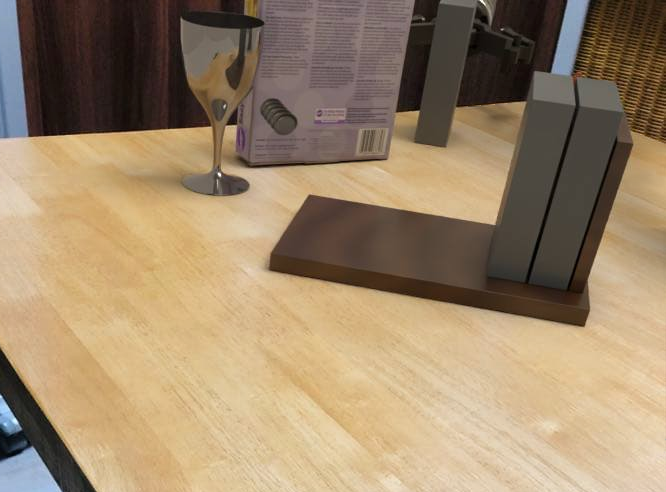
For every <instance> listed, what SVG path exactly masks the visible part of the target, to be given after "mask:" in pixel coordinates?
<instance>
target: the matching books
mask: <svg viewBox="0 0 666 492" xmlns="http://www.w3.org/2000/svg"><path fill="white" fill-rule="evenodd" d="M572 76H573V75H567V74H566V75H565V74H558V73H554V72H553V73H551V72H546V71H545V72H544V71H539V70H534V71H533V74H532V78H531V81H530V86H529V89H528V93H527V96H526V97H527V98H526V101H525V105H524V109H523V113H522V117H521V121H520V124H519V125H520V126H519V130H518V133H517V137H516V140H515V145H514V149H513V153H512V156H511V161H510V165H509V168H508V172H507V177H506V180H505V184H504V188H503V192H502V196H501V200H500V204H499V207H498V211H497V216H496V220H495V223H494V225H495V227H494V231H493V235H492V243H491V250H490V258H489V265H488V273H487V276H488V277H493V278H499V279H505V280H510V281H516V282H522V283H524V282H525V280H526V276H527V273H528V269H529V279H528V284H533V285H539V286H544V287H550V288H556V289H562V290H567V287H568V284H569V281H570V277H571V274H572V271H573V268H574V265H575V262H576V259H577V256H578V253H579V250H580V247H581V243H582V240H583V237H584V234H585V231H586V228H587V225H588V222H589V219H590V216H591V213H592V209H593V206H594V203H595V200H596V197H597V194H598V191H599V188H600V185H601V182H602V179H603V175H604V172H605V169H606V166H607V163H608V160H609V157H610V154H611V151H612V148H613V145H614V141H615V138H616V135H617V132H618V129H619V126H620V123H621V120H622V117H623V114H624V111H625V110H624V108H623V104H622V103H623V102H622V100H621V96H620V92H619V89H618V85H617V82H616V81H609V80H602V79H595V78H590V77H589V78H588V77H583V76H582V77H577V78H576V81H575V85H573V77H572Z"/></svg>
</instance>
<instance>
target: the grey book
mask: <svg viewBox="0 0 666 492" xmlns="http://www.w3.org/2000/svg"><path fill="white" fill-rule="evenodd" d="M477 2H478V0H440V1H439V3H438V6H437V13H436V17H435V18H436V23H435V29H434V34H433V40H432V46H430V52H429V57H428V63H427V69H426V73H425V80H424V85H423V89H422V94H421V95H422V96H421V100H420V106H419V108H420V109H419V113H418V118H417V124H416V128H415V134H414V141H413V142H414V143H415V144H423V145H430V146H436V147H443V148H446V147H447V145H448V142H449V138H450V135H451V132H452V128H453V123H454V120H455V113H456V109H457V104H458V101H459V100H458V99H459V94H460V89H461V85H462V80H463V75H464V69H465V64H466V61H467V58H466V56H467V51H468V46H469V41H470V37H471V32H472V27H473V22H474V17H475V12H476V7H477Z"/></svg>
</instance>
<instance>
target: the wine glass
mask: <svg viewBox="0 0 666 492" xmlns="http://www.w3.org/2000/svg"><path fill="white" fill-rule="evenodd" d="M179 26H180V28H179V29H180V30H179V31H180V32H179V34H180V35H179V37H180V38H179V39H180V53H181V63H182V66H183V67H182V69H183V74H184V76H185V80H186V84H187V86H188V87H189V89H190V91H191V93H192V94H193V96H194V97H195V98H196V100H197V101H198V103H199V104H200V106H201V107H202V108H203V109H204V111H205V113H206V115H207V117H208V119H209V122H210V125H211V130H212V131H211V132H212V133H211V134H212V144H213V157H212V158H213V162H212V168H211V170H210V171H207V170H205V171H196V172H192V173H189V174H187V175H185V176H184V177H183V178H182V181H181V183H182V185H183V186H184V187H185V188H186V189H188V190H191V191H193V192H196V193H199V194H204V195H210V196H234V195H239V194H242V193H245V192H247V191H248V190H249V189H250V188H251V185H250V182H249V181H248V179H246V178H244V177H242V176H239V175H237V174H234V173H229V172H224V171H223V170H222V163H221V162H222V148H223V141H224V136H225V130H226V126H227V125H228V122H229V120H230V118H231V117H232V115H233V113H234V112H235V111H236V110H237V109H238V106H239V105H240V104H241V103H242V102H243V101H244V99H245V98H246V97H247V96H248V95H249V93H250V92H251V91H252V89H253V87H254V85H255V82H256V79H257V76H258V72H259V68H260V63H261V58H262V52H263V43H264V28H265V23H264V21H262V20H260V19H258V18H255V17H252V16H248V15H244V13H237V12H229V11H214V10H197V11H196V10H195V11H189V12H185V13H183V14H181V15H180V25H179Z"/></svg>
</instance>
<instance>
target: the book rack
mask: <svg viewBox="0 0 666 492" xmlns="http://www.w3.org/2000/svg"><path fill="white" fill-rule="evenodd" d="M623 111H624V114H623V117H622V120H621V123H620V126H619V129H618V132H617V135H616V138H615V141H614V145H613V148H612V151H611V154H610V157H609V160H608V163H607V166H606V169H605V172H604V175H603V179H602V182H601V185H600V188H599V191H598V194H597V197H596V200H595V203H594V206H593V209H592V213H591V216H590V219H589V222H588V225H587V228H586V231H585V234H584V237H583V240H582V243H581V247H580V250H579V253H578V256H577V259H576V262H575V265H574V268H573V271H572V274H571V277H570V281H569V284H568V287H567V290H562V289H556V288H550V287H544V286H539V285H533V284H528V279H529V269H528V273H527V276H526V280H525V282H524V283H522V282H516V281H510V280H505V279H499V278H493V277H488V276H487V273H488V265H489V258H490V250H491V243H492V235H493V231H494V227H495V224H493V223H492V224H491V223H487V222H479V221H474V220H472V221H471V220H467V219H463V218H462V219H461V218H455V217H449V216H442V215H437V214H430V213H426V212H419V211H413V210H406V209H402V208H401V209H400V208H394V207H388V206H382V205H376V204H370V203H364V202H359V201H353V200H348V199H347V200H346V199H341V198H340V199H339V198H336V197H335V198H334V197H329V196H328V197H327V196H323V195H316V194H308V195H307V197H306V198H305V200H304V201H303V202H302V204H301V206H300V207H299V208H298V210H297V212H296V213H295V215H294V216H293V218H292V219H291V221H290V222H289V224H288V226H287V227H286V229H285V230H284V232H283V233H282V235H281V237H280V238H279V239H278V241H277V243H276V245H274V247H273V248H272V250H271V252H270V255H269V271H276V272H281V273H286V274H292V275H297V276H302V277H303V276H304V277H309V278H314V279H318V280H319V279H320V280H324V281H329V282H330V281H331V282H336V283H341V284H347V285H353V286H358V287H364V288H370V289H376V290H381V291H387V292H392V293H397V294H403V295H409V296H414V297H419V298H426V299H431V300H436V301H443V302H448V303H454V304H458V305H465V306H471V307H475V308H476V307H477V308H481V309H487V310H493V311H498V312H504V313H510V314H514V315H520V316H526V317H530V318H531V317H532V318H537V319H544V320H549V321H554V322H559V323H565V324H569V325H570V324H571V325H576V326H582V327H585V326H586V324H587V321H588V318H589V316H590V312H591V302H590V291H589V290H590V289H589V277H590V274H591V271H592V268H593V266H594V263H595V259H596V257H597V254H598V251H599V248H600V244H601V241H602V238H603V237H604V233H605V230H606V228H607V227H606V226H607V224H608V221H609V218H610V215H611V212H612V209H613V207H614V203H615V200H616V199H617V198H616V197H617V194H618V191H619V189H620V186H621V182H622V180H623V177H624V174H625V170H626V168H627V166H628V165H627V164H628V162H629V158H630V156H631V153H632V150H633V147H634V140H633V136H632V132H631V129H630V125H629V121H628V118H627V114H626V111H625V110H623Z"/></svg>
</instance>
